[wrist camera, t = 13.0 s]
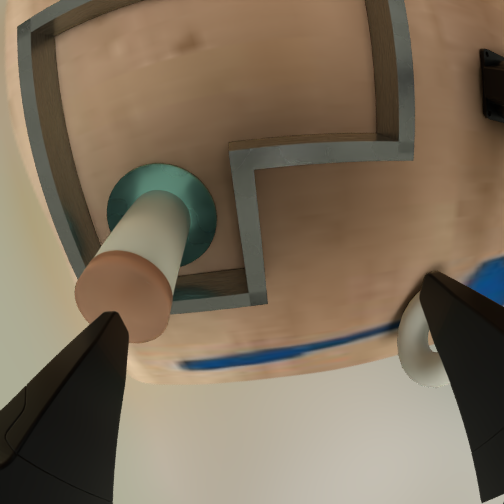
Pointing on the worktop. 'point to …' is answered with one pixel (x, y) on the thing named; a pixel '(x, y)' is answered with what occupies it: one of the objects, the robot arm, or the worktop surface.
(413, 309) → the donut
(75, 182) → the channel
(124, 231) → the peg
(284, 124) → the worktop surface
